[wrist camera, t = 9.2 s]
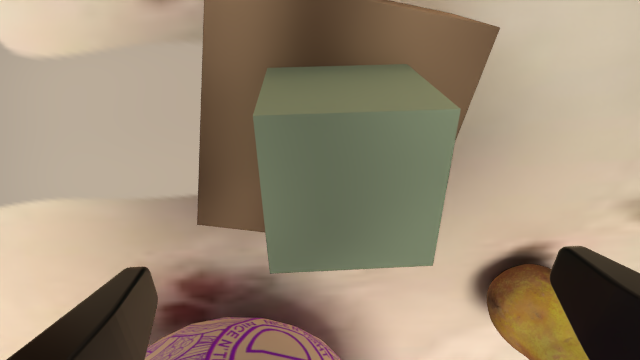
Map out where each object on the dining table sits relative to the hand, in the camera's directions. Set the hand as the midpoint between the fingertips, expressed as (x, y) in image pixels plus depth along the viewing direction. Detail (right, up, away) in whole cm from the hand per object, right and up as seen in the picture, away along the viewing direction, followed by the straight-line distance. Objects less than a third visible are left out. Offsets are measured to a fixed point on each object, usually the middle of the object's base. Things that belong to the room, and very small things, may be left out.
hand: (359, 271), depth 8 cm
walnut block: (-1, +6, +11) cm, 12 cm away
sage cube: (0, +4, +6) cm, 7 cm away
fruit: (+13, -5, +18) cm, 22 cm away
